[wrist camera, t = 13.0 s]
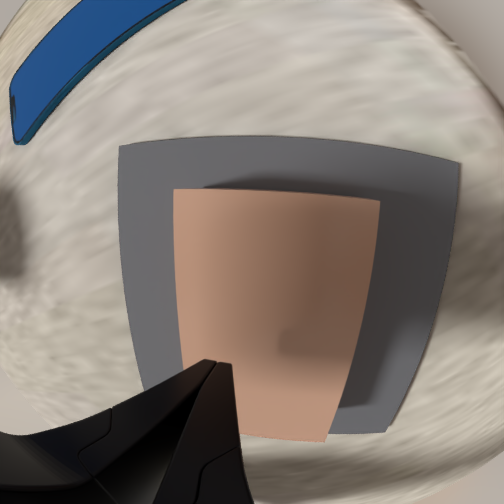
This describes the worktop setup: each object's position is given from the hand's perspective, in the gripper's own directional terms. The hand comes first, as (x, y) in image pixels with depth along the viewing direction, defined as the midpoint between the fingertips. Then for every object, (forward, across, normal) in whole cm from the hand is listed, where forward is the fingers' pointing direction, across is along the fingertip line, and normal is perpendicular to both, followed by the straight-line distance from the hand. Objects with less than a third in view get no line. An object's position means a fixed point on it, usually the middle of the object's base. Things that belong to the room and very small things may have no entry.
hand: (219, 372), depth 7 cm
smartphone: (+5, +11, -15) cm, 19 cm away
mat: (+4, -1, 0) cm, 4 cm away
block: (+2, +2, 0) cm, 3 cm away
